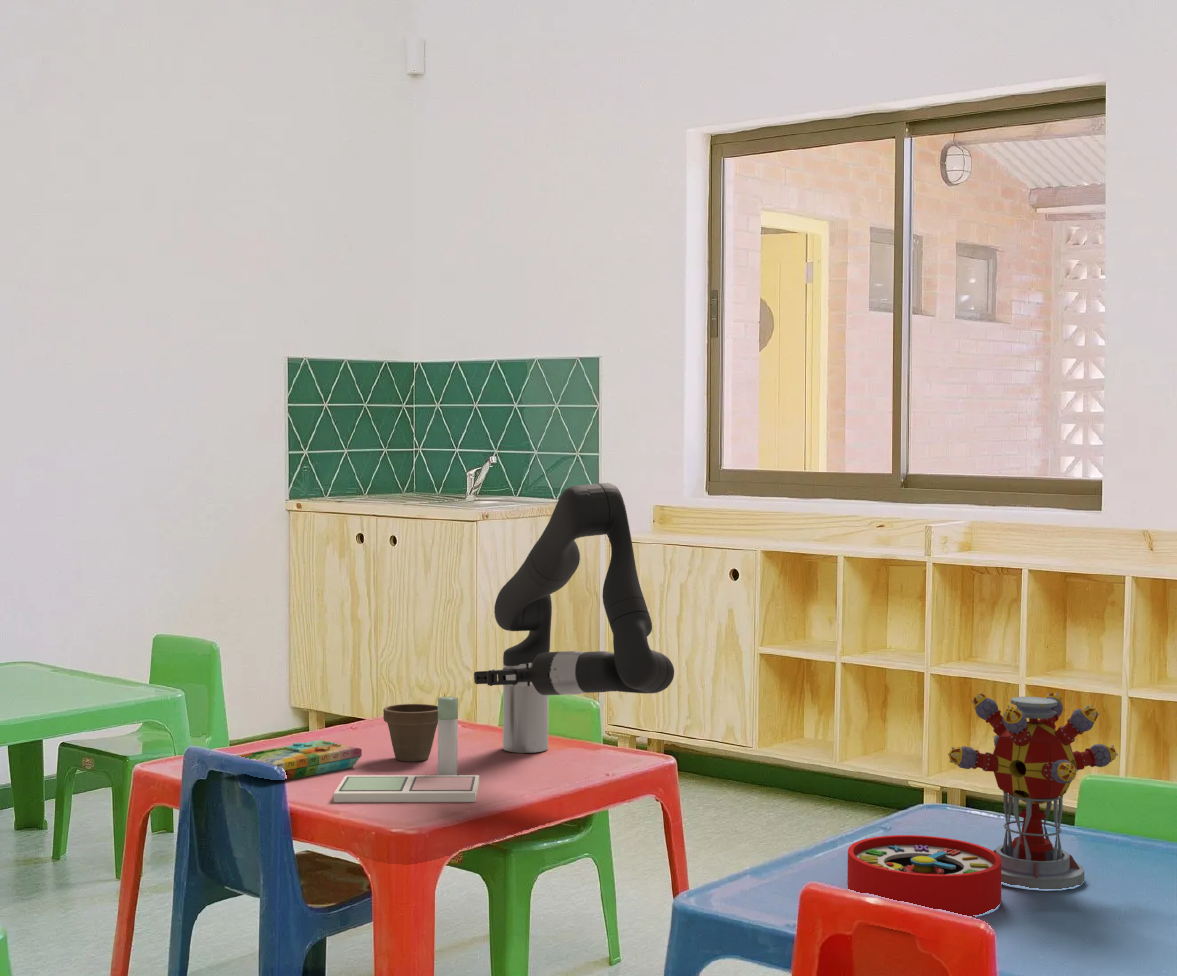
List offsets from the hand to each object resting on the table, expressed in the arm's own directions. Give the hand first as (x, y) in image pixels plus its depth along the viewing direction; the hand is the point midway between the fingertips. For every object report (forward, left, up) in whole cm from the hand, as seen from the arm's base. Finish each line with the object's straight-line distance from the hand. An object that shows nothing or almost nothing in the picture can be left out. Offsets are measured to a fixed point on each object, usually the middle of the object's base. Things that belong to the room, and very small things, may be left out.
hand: (489, 675), depth 252 cm
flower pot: (-22, -16, -20) cm, 33 cm away
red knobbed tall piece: (+59, +78, -20) cm, 100 cm away
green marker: (-5, -8, -19) cm, 22 cm away
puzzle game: (-11, -36, -20) cm, 43 cm away
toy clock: (+68, +61, -20) cm, 93 cm away
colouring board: (+7, -14, -19) cm, 25 cm away
